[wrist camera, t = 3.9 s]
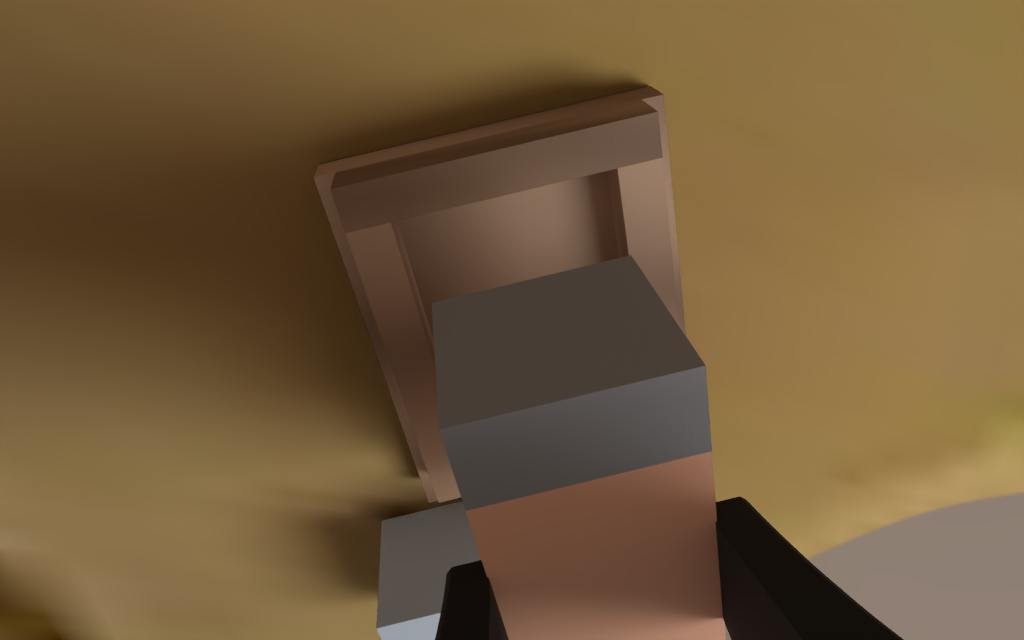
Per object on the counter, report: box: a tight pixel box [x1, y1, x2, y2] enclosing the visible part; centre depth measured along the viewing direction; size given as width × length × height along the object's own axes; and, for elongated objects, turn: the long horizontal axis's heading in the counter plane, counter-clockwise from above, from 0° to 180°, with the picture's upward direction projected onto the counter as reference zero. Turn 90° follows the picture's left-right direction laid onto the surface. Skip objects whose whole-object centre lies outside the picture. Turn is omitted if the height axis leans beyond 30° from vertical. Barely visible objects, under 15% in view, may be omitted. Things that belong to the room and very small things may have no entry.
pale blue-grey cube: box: [377, 501, 481, 640], centre depth 21 cm, size 4×4×4 cm
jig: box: [313, 86, 686, 503], centre depth 18 cm, size 10×8×2 cm
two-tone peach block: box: [432, 255, 726, 640], centre depth 13 cm, size 8×4×4 cm, turn 12°
